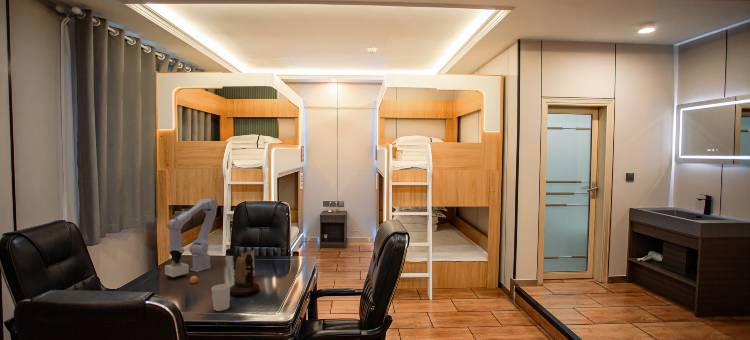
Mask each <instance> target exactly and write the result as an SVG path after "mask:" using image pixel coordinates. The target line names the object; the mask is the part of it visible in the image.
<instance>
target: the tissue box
mask: <svg viewBox="0 0 750 340" xmlns="http://www.w3.org/2000/svg"><path fill="white" fill-rule="evenodd" d="M189 270H190V269H189V264H187V263H184V262H182V258H180V263H178V264H175V260H174V261H173V260H172V261H171V264H166V265H164V274H165V275H166V276H169V277H171V278H174V277H178V276H183V275H186V274H189Z"/></svg>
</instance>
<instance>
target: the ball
mask: <svg viewBox="0 0 750 340" xmlns="http://www.w3.org/2000/svg"><path fill="white" fill-rule="evenodd" d="M198 279H199V278H198V276H196V275H192V276H191V277H190V278H189V282H190V283H191V284H197V282H198Z"/></svg>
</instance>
